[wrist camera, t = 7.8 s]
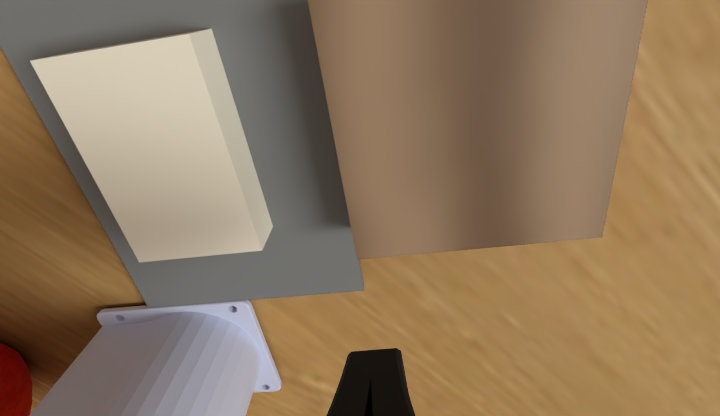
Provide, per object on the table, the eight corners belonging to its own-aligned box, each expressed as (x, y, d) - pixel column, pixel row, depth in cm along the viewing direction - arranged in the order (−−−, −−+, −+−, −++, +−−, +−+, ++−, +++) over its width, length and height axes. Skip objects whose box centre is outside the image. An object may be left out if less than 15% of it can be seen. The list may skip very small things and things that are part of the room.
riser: (360, 222, 19) (357, 259, 17) (320, -3, 14) (307, -1, 12) (570, 201, 18) (601, 237, 15) (604, -52, 13) (659, -62, 11)
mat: (153, 301, 23) (148, 308, 22) (-17, -5, 15) (-29, -5, 14) (363, 284, 21) (363, 290, 21) (298, -66, 13) (295, -67, 13)
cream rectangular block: (262, 250, 17) (273, 226, 19) (188, 33, 13) (211, 28, 15) (139, 262, 18) (160, 238, 20) (29, 60, 14) (69, 52, 15)
